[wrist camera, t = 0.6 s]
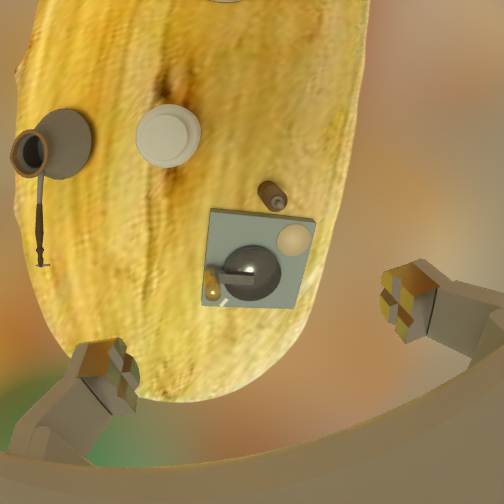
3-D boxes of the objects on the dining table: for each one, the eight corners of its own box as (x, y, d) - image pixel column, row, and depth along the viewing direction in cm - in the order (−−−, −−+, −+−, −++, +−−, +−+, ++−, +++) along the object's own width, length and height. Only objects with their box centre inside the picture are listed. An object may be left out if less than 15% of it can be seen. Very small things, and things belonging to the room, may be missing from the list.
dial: (206, 241, 49) (208, 264, 42) (283, 247, 51) (297, 270, 44) (201, 292, 53) (202, 320, 46) (272, 296, 56) (283, 322, 48)
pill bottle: (195, 101, 41) (192, 94, 27) (205, 150, 44) (207, 165, 31) (145, 114, 40) (120, 114, 27) (156, 162, 44) (137, 183, 30)
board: (210, 208, 49) (211, 213, 46) (312, 219, 52) (317, 223, 50) (201, 299, 56) (201, 306, 54) (291, 302, 60) (294, 309, 58)
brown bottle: (259, 179, 48) (271, 193, 40) (279, 182, 48) (294, 196, 41) (256, 199, 49) (267, 216, 41) (275, 201, 50) (290, 219, 42)
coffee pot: (38, 114, 36) (-13, 121, 22) (97, 103, 38) (55, 101, 24) (51, 231, 45) (11, 271, 32) (105, 228, 47) (75, 271, 33)
